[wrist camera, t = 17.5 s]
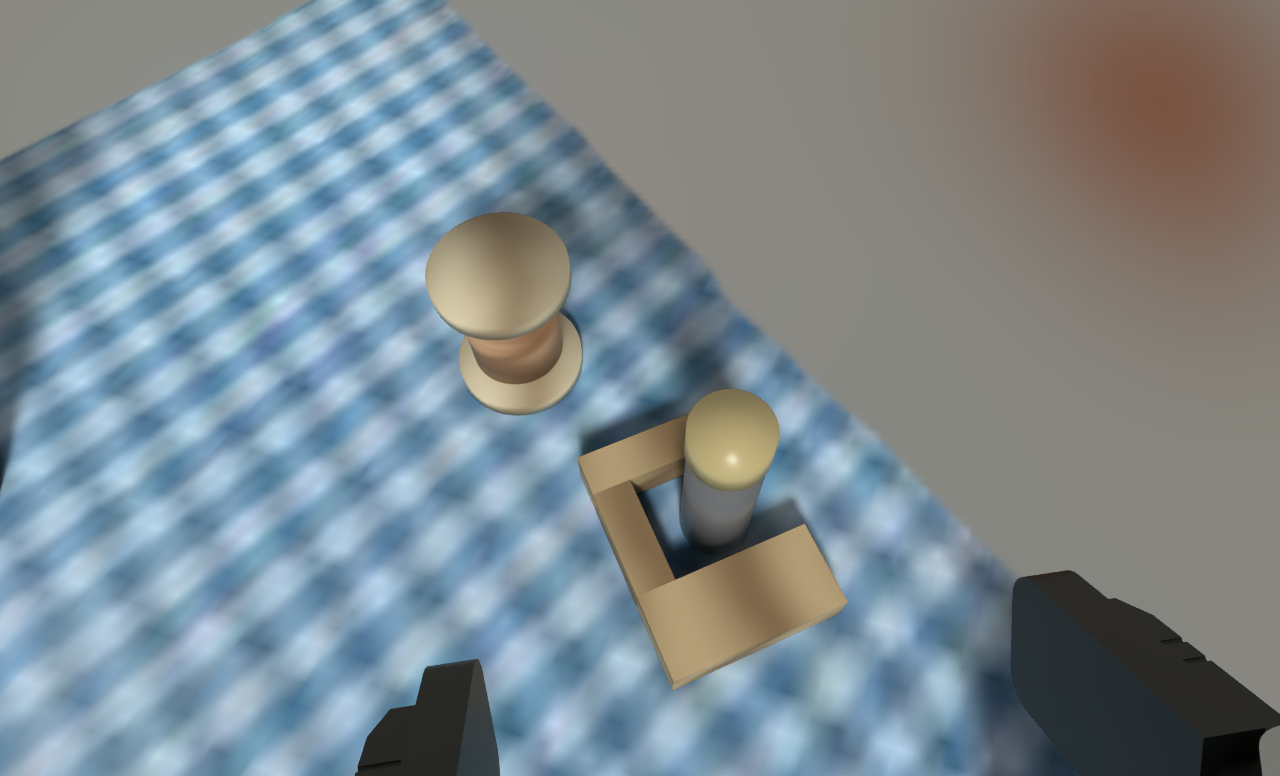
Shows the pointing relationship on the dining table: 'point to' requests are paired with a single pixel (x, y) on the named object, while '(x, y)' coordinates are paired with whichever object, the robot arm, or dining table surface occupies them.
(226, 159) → the dining table surface
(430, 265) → the bobbin
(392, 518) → the dining table surface
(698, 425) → the grey cylinder tan cap
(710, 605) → the tan c-shaped clamp
